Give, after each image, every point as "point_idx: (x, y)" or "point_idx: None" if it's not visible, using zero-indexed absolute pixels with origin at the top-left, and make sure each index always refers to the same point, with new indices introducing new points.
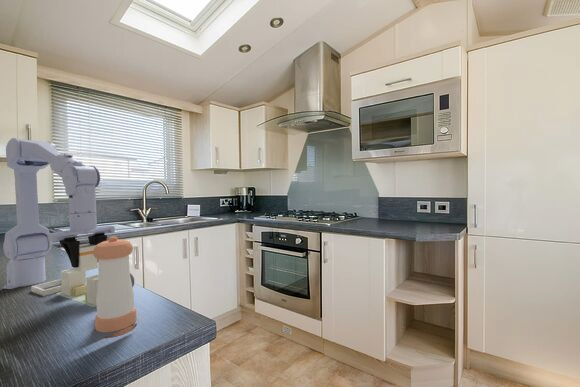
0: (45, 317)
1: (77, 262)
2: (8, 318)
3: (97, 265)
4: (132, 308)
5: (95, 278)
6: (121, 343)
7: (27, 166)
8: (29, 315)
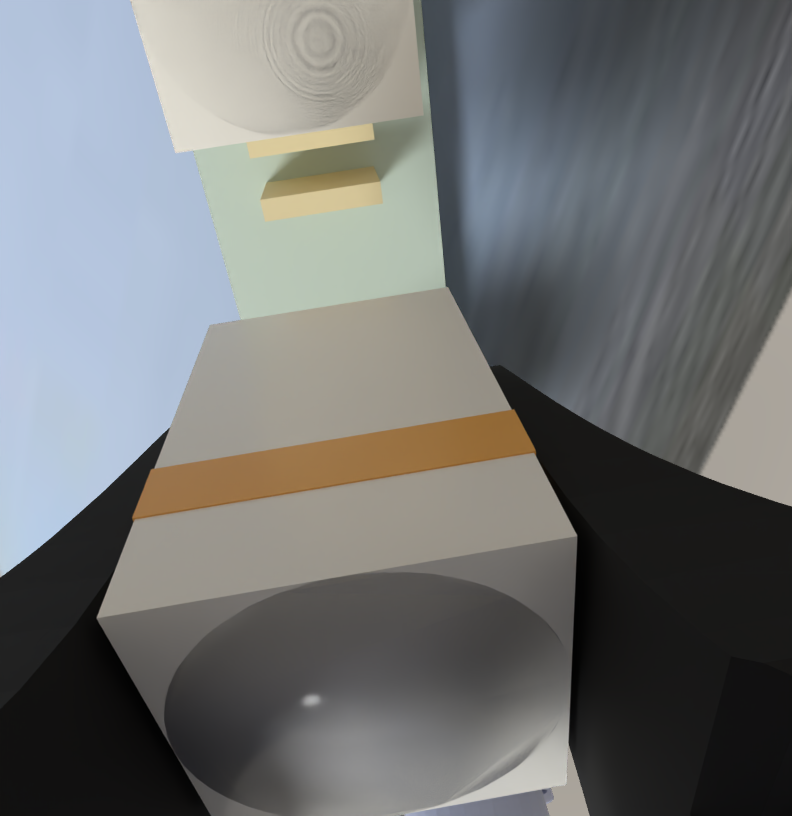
0: (657, 134)
1: (507, 387)
2: (754, 339)
3: (208, 338)
4: None
5: None
6: None
7: None
8: (681, 286)
